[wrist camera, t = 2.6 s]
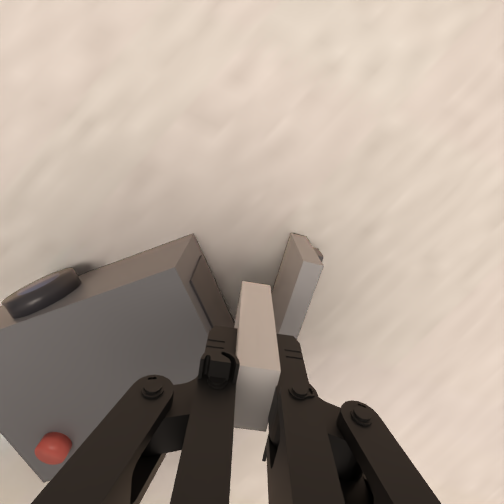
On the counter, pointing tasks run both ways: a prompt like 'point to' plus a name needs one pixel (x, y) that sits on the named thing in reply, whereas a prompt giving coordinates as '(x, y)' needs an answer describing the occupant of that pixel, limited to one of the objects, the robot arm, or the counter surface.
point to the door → (295, 284)
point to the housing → (99, 344)
